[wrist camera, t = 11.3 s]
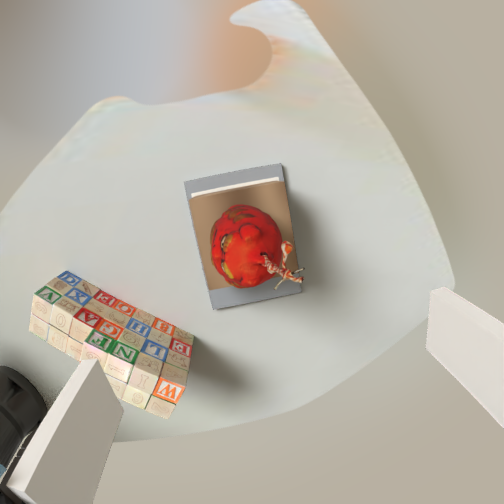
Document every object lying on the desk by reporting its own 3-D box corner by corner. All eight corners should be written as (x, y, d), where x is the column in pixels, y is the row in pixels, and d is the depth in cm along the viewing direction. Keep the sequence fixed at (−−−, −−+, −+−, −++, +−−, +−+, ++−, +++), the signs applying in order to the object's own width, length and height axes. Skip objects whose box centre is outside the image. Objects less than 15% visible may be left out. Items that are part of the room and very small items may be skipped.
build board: (213, 307, 41) (212, 309, 40) (184, 181, 37) (183, 181, 36) (300, 289, 42) (301, 292, 41) (279, 163, 37) (280, 163, 36)
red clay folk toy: (207, 205, 31) (187, 232, 17) (275, 198, 31) (314, 219, 17) (215, 276, 33) (206, 352, 18) (280, 269, 33) (317, 339, 19)
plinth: (211, 273, 39) (209, 290, 33) (194, 196, 37) (188, 200, 31) (288, 258, 39) (298, 272, 34) (275, 180, 37) (284, 181, 31)
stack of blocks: (58, 303, 40) (16, 341, 28) (66, 269, 39) (20, 300, 27) (180, 365, 43) (168, 421, 32) (196, 334, 42) (186, 388, 30)
